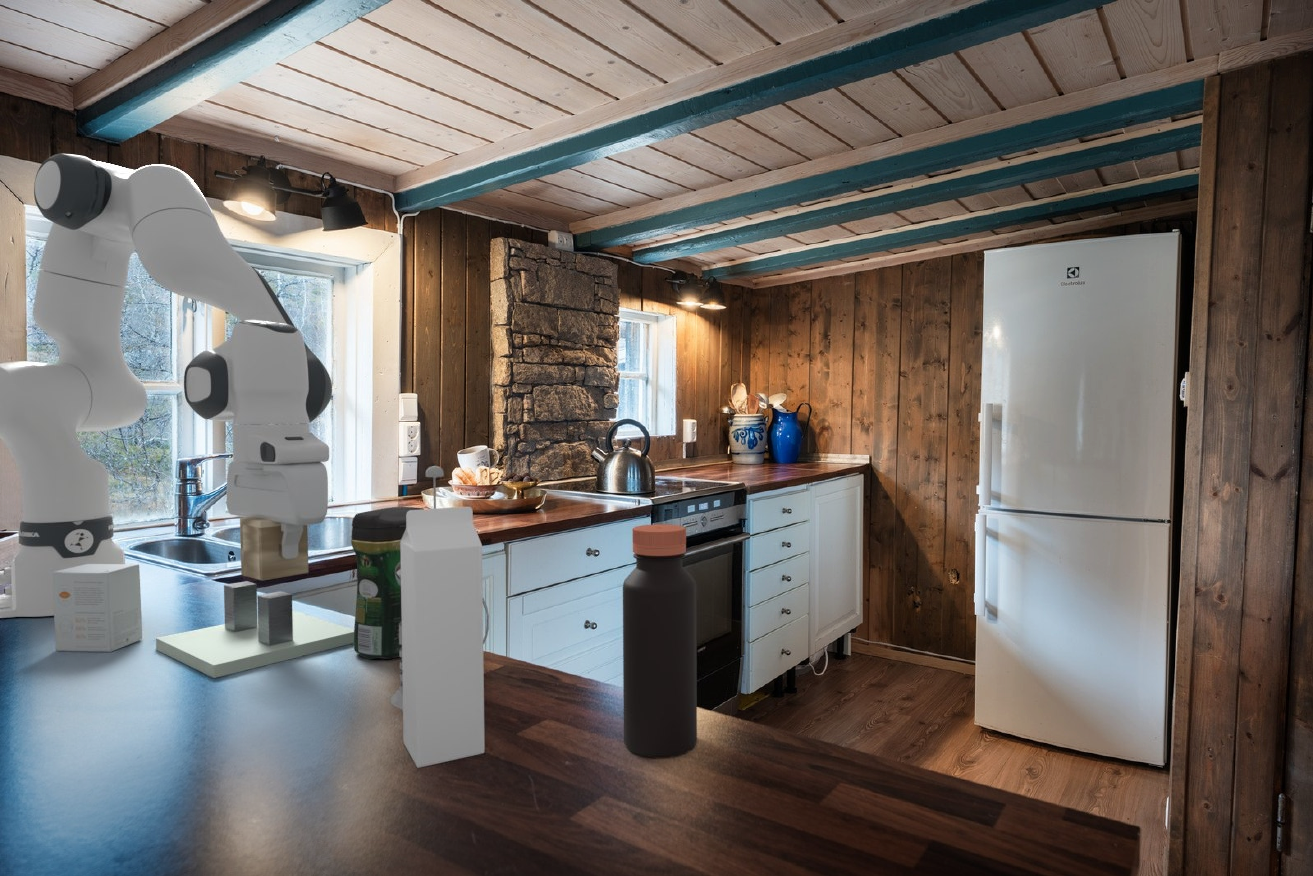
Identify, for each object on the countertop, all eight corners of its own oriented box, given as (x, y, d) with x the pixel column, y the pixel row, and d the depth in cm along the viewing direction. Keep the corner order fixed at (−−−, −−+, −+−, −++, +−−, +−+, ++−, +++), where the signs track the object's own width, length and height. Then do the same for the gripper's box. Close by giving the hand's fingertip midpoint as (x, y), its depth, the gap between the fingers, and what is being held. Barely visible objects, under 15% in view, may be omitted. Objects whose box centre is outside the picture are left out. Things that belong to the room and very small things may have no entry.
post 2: (258, 653, 99) (257, 595, 99) (282, 647, 101) (280, 591, 101) (269, 658, 97) (268, 598, 97) (293, 652, 99) (292, 594, 99)
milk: (485, 754, 69) (483, 510, 68) (416, 769, 66) (413, 514, 66) (466, 730, 75) (464, 503, 74) (401, 743, 72) (399, 506, 71)
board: (156, 649, 101) (155, 638, 101) (292, 620, 115) (292, 610, 115) (214, 678, 90) (213, 665, 90) (357, 642, 104) (357, 631, 104)
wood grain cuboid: (241, 574, 98) (239, 517, 98) (286, 567, 103) (285, 513, 103) (262, 580, 95) (260, 521, 95) (308, 572, 99) (307, 516, 99)
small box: (143, 640, 105) (141, 563, 105) (110, 653, 100) (108, 572, 99) (89, 639, 106) (87, 562, 106) (53, 651, 100) (51, 571, 100)
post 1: (225, 639, 105) (223, 584, 105) (247, 634, 107) (246, 581, 107) (234, 643, 103) (233, 587, 103) (257, 638, 106) (256, 584, 105)
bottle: (645, 723, 76) (644, 521, 75) (708, 736, 73) (708, 525, 72) (609, 750, 70) (608, 530, 69) (677, 766, 67) (676, 535, 66)
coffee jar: (403, 636, 106) (401, 502, 106) (443, 645, 102) (441, 505, 101) (341, 655, 98) (339, 509, 97) (382, 665, 94) (380, 513, 93)
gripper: (211, 446, 102) (214, 550, 103) (285, 449, 90) (288, 567, 90) (260, 445, 107) (262, 543, 108) (336, 447, 95) (339, 559, 95)
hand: (275, 555), depth 99 cm, fingers closed on wood grain cuboid, 6 cm apart
